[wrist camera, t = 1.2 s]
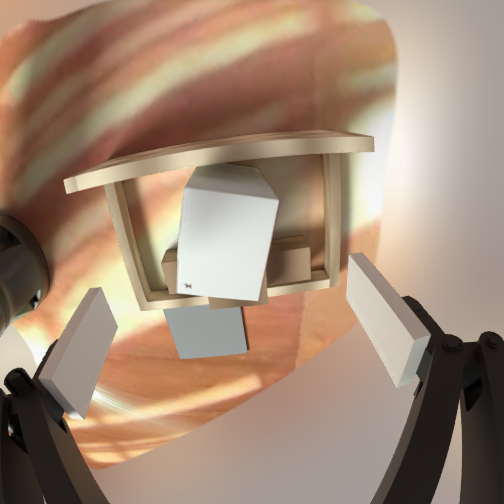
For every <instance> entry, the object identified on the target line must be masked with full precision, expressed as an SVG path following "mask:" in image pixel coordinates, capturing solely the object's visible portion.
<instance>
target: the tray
mask: <svg viewBox="0 0 504 504" xmlns="http://www.w3.org/2000/svg"><path fill="white" fill-rule="evenodd" d="M347 152H374V137H372V136H367V135H361V134H355V133H350V132H343V131H337V130H306V131H289V132H275V133H263V134H253V135H243V136H234V137H226V138H219V139H212V140H205V141H198V142H192V143H186V144H180V145H174V146H169V147H164V148H158V149H153V150H149V151H144V152H139V153H135V154H130V155H126V156H122V157H118V158H114V159H110V160H106V161H104V162H102V163H99V164H97V165H95V166H92V167H90V168H88V169H86V170H83V171H81V172H79V173H77V174H75V175H72V176H70V177H68V178H66V179H64V185H65V189H66V193H67V194H68V193H72V192H76V191H80V190H84V189H88V188H92V187H96V186H100V185H104V188H105V193H106V197H107V201H108V205H109V210H110V214H111V217H112V221H113V225H114V229H115V232H116V236H117V240H118V243H119V246H120V250H121V253H122V256H123V260H124V263H125V266H126V269H127V272H128V275H129V278H130V281H131V284H132V287H133V290H134V293H135V296H136V299H137V302H138V304H139V307H140V310H141V311H146V310H157V309H168V308H178V307H188V306H197V305H206V304H209V300H208V297H207V296H198V295H190V294H180V293H178V294H170V293H169V290H159V291H151V290H150V287H149V284H148V280H147V277H146V274H145V271H144V267H143V264H142V260H141V257H140V253H139V250H138V246H137V242H136V239H135V235H134V231H133V227H132V223H131V219H130V215H129V211H128V207H127V202H126V198H125V193H124V189H123V184H122V180H126V179H131V178H136V177H141V176H146V175H151V174H156V173H162V172H167V171H173V170H179V169H185V168H191V167H197V166H204V165H211V164H218V163H225V162H233V161H242V160H250V159H260V158H270V157H281V156H293V155H307V154H322V162H323V189H324V270H317V271H311V279H308V280H302V281H295V282H289V283H282V284H276V285H269V286H267V293H268V297H270V296H278V295H285V294H292V293H298V292H305V291H311V290H318V289H324V288H330V287H336V286H339V268H340V242H341V164H340V153H347Z"/></svg>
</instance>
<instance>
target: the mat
mask: <svg viewBox="0 0 504 504" xmlns="http://www.w3.org/2000/svg"><path fill="white" fill-rule="evenodd" d="M163 311H164V314H165V317H166V320H167V323H168V326H169V329H170V331H171V334H172V337H173V340H174V343H175V345H176V348H177V351H178V354H179V356H180V359H189V358H201V357H213V356H223V355H232V354H241V353H248V352H247V346H246V340H245V333H244V327H243V321H242V314H241V308H240V307H234V308H224V309H213V310H210V305H209V304H206V305H197V306H188V307H178V308H168V309H163Z"/></svg>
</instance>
